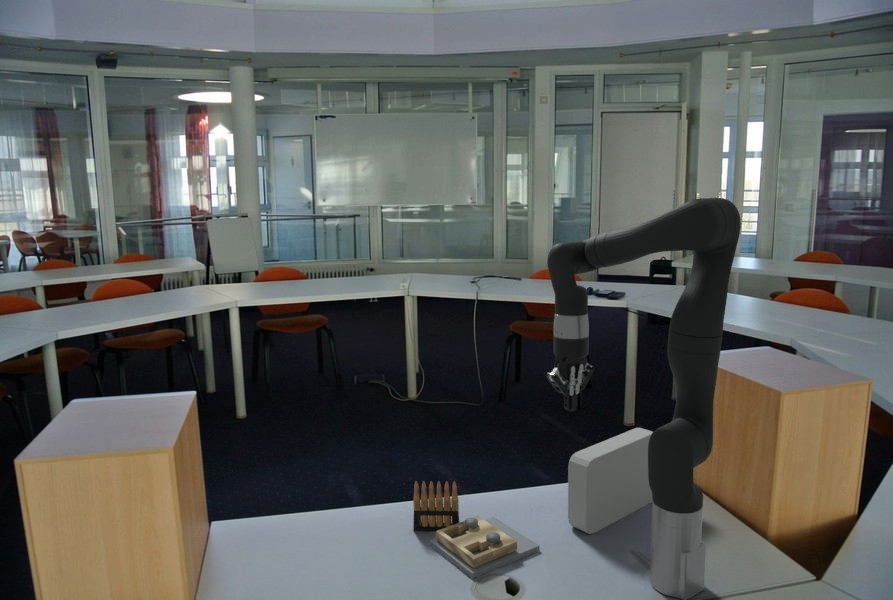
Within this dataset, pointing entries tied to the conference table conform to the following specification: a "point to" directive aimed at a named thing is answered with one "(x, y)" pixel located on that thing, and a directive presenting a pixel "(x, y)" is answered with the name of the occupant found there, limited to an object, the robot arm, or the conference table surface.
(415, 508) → the ammunition clip
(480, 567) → the board
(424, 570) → the conference table surface
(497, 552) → the beech panel
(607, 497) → the rounded white slab
